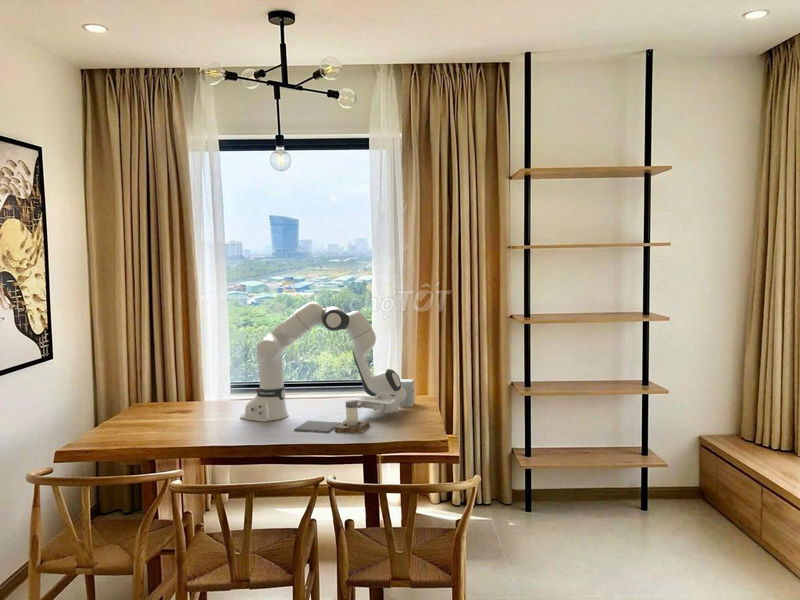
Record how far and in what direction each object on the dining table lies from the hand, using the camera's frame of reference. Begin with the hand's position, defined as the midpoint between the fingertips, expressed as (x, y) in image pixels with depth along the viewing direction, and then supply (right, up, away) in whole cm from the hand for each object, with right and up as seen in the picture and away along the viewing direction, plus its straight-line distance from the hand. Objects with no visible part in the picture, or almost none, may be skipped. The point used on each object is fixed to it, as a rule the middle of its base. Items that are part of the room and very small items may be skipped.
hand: (366, 407), depth 284 cm
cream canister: (-6, -8, -9) cm, 13 cm away
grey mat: (-21, -8, -5) cm, 23 cm away
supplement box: (+18, -4, +32) cm, 37 cm away
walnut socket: (-6, -8, -9) cm, 13 cm away
